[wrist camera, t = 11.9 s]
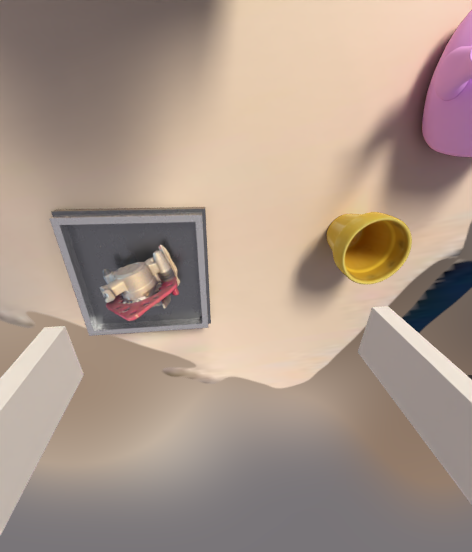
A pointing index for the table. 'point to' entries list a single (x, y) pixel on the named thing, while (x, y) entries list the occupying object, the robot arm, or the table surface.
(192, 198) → the table surface
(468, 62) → the teapot
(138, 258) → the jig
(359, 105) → the table surface
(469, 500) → the robot arm
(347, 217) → the plant pot
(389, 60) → the table surface
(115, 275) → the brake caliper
